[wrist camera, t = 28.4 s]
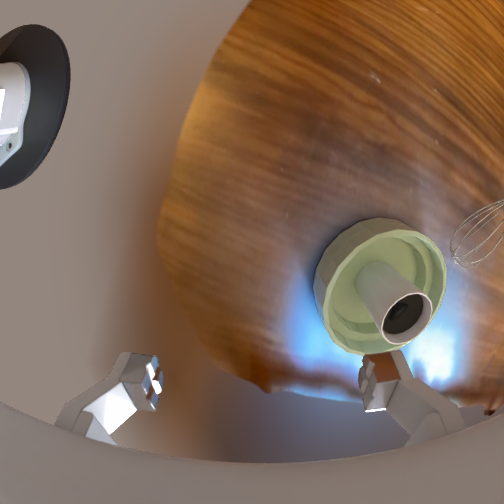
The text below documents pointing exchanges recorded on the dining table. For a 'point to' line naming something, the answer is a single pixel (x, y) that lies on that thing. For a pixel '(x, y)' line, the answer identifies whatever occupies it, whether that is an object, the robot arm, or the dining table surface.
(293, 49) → the dining table surface
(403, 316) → the white coffee cup
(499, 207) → the kitchen whisk
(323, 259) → the bowl
